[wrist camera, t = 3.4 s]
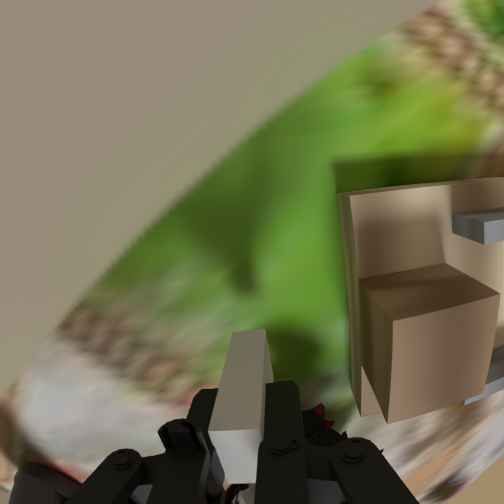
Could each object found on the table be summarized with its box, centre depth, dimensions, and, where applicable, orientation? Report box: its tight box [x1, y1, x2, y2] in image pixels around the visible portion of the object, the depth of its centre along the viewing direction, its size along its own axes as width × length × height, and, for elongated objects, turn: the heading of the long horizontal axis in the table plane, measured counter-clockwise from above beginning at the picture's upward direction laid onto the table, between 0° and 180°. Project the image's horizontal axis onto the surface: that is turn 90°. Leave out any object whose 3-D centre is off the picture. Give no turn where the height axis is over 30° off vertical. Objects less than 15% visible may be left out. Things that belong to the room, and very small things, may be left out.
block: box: [358, 263, 500, 424], centre depth 13 cm, size 5×5×5 cm
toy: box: [225, 403, 384, 504], centre depth 17 cm, size 12×9×15 cm
